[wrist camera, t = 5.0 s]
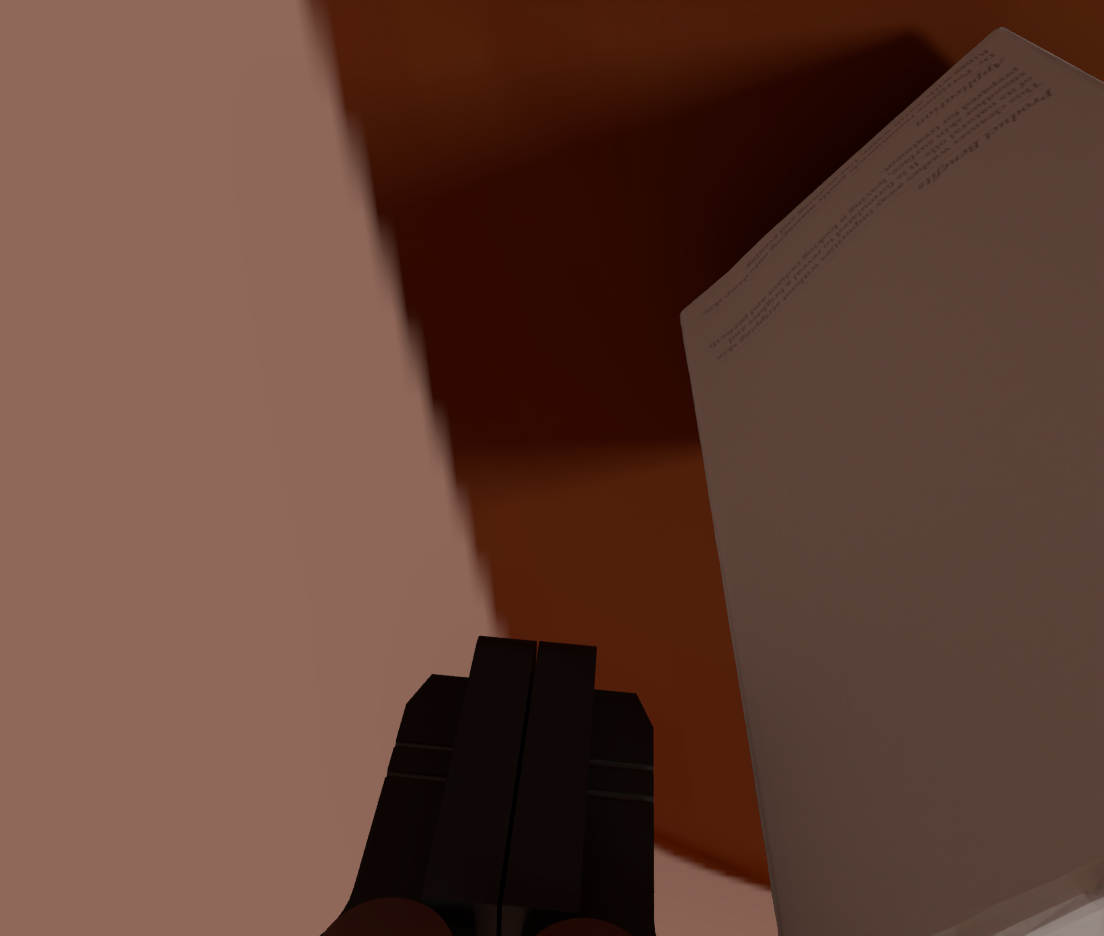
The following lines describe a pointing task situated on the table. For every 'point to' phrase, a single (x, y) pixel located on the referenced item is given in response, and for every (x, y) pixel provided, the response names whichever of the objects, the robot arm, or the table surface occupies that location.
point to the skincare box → (924, 513)
